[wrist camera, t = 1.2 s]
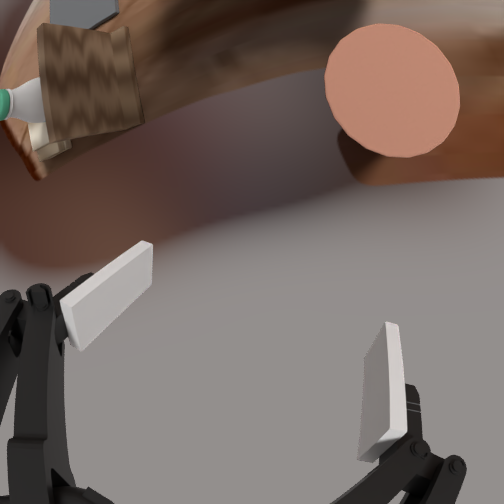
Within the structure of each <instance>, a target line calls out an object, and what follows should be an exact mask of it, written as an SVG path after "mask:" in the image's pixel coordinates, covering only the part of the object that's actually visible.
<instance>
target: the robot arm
mask: <svg viewBox="0 0 504 504" xmlns="http://www.w3.org/2000/svg"><path fill="white" fill-rule="evenodd" d="M152 257H153V244H151V243H148V242H145V241H141V242H139V243H138V244H136V245H135V246H133V247H132V248H130V249H129V250H128V251H126V252H125V253H123V254H122V255H120V256H119V257H118V258H116V259H115V260H113V261H112V262H111V263H109V264H108V265H106V266H105V267H104V268H102V269H101V270H100V271H98V272H97V273H96V274H93V273H88V274H85V275H82V276H81V277H79V278H78V279H77V280H75V282H72V283H71V284H70V286H67V287H66V288H65V289H63V290H62V291H60V292H59V293H58V294H56V295H55V296H54V297H52V292H51V288H50V287H49V285H46V284H42V283H40V284H35V285H33V286H31V287H29V288H28V289H27V291H26V295H27V299H28V301H25V300H22V298H21V294H20V292H19V291H17V290H7V291H5V292H3V293H2V294H1V295H0V425H1V422H2V418H3V415H4V412H5V409H6V405H7V402H8V399H9V396H10V394H11V390H12V388H13V385H14V382H15V379H16V377H17V374H18V378H17V388H16V399H15V400H16V401H15V415H14V436H13V438H11V439H9V440H8V444H7V465H8V484H9V495H6V496H0V504H114V503H113V502H112V501H110V500H109V499H107V498H105V497H104V496H102V495H101V494H99V493H97V492H96V491H94V490H93V489H91V488H90V487H88V488H87V489H82V488H79V487H76V484H75V480H74V477H73V474H72V472H71V469H70V465H69V458H68V449H67V439H66V426H65V410H64V409H65V407H64V349H65V344H64V340H65V339H66V338H67V337H68V338H69V341H70V345H72V346H73V347H75V348H76V349H78V350H80V351H83V350H84V349H85V348H86V347H87V346H88V345H89V344H90V343H91V342H92V341H93V340H94V339H95V338H96V337H97V336H98V335H99V334H100V333H101V332H102V331H103V330H104V329H105V328H106V327H107V326H108V325H109V324H110V323H111V322H112V321H114V319H116V318H117V316H119V315H120V314H121V313H122V312H123V311H124V310H125V309H126V308H127V307H128V306H129V305H130V304H131V303H132V302H133V301H135V300H136V299H137V298H138V297H139V296H140V295H141V294H142V293H143V292H144V291H145V290H146V289H147V288H148V287H149V286H151V284H152ZM420 411H421V409H420V399H419V394H418V392H417V390H416V388H415V386H413V385H409V384H405V381H404V370H403V360H402V351H401V343H400V335H399V328H398V325H396V324H393V323H390V322H386V321H385V323H384V325H383V327H382V328H381V330H380V332H379V334H378V335H377V338H376V339H375V341H374V342H373V344H372V346H371V348H370V349H369V351H368V353H367V354H366V356H365V358H364V384H363V401H362V415H361V428H360V437H359V448H358V456H357V460H360V461H365V462H372V463H373V462H374V461H375V460H376V459H378V458H379V465H378V466H377V467H376V468H374V469H373V470H372V471H371V472H369V473H368V475H367V476H365V477H364V478H363V479H362V480H360V481H359V482H358V483H357V484H355V485H354V486H353V487H352V488H350V489H349V490H348V491H347V492H345V493H344V494H343V495H341V496H340V497H339V498H337V499H336V500H335V501H333V502H332V503H330V504H388V503H389V502H390V501H391V500H392V499H393V498H394V497H395V496H396V495H397V494H398V493H399V492H400V491H401V490H403V491H405V492H406V493H405V495H404V497H403V499H402V500H401V502H400V504H455V502H456V499H457V496H458V494H459V491H460V489H461V486H462V483H463V481H464V478H465V475H466V470H467V468H466V464H465V462H464V460H463V459H462V458H461V457H460V456H456V455H451V456H449V457H448V458H446V459H443V458H441V457H438V456H437V455H434V454H433V453H431V452H430V451H431V450H430V447H429V445H428V444H427V443H426V441H424V440H423V438H422V421H421V413H420Z"/></svg>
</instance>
